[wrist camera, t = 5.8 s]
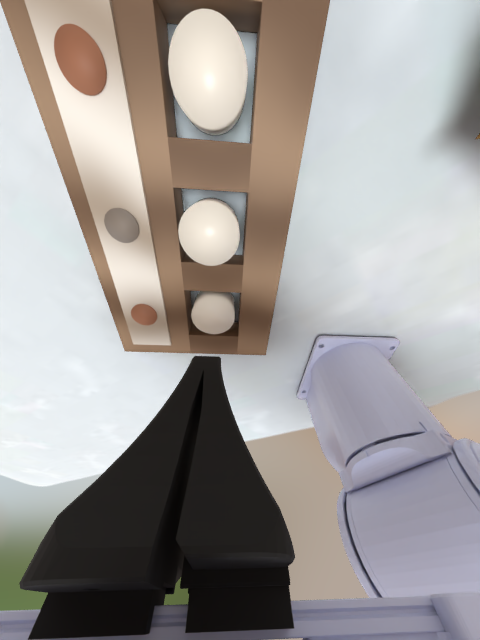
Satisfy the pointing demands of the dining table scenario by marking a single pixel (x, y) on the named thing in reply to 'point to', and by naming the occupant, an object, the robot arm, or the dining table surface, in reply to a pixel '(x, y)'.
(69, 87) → the button board
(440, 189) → the dining table surface
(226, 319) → the button
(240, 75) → the button
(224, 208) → the button middle
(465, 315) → the dining table surface
